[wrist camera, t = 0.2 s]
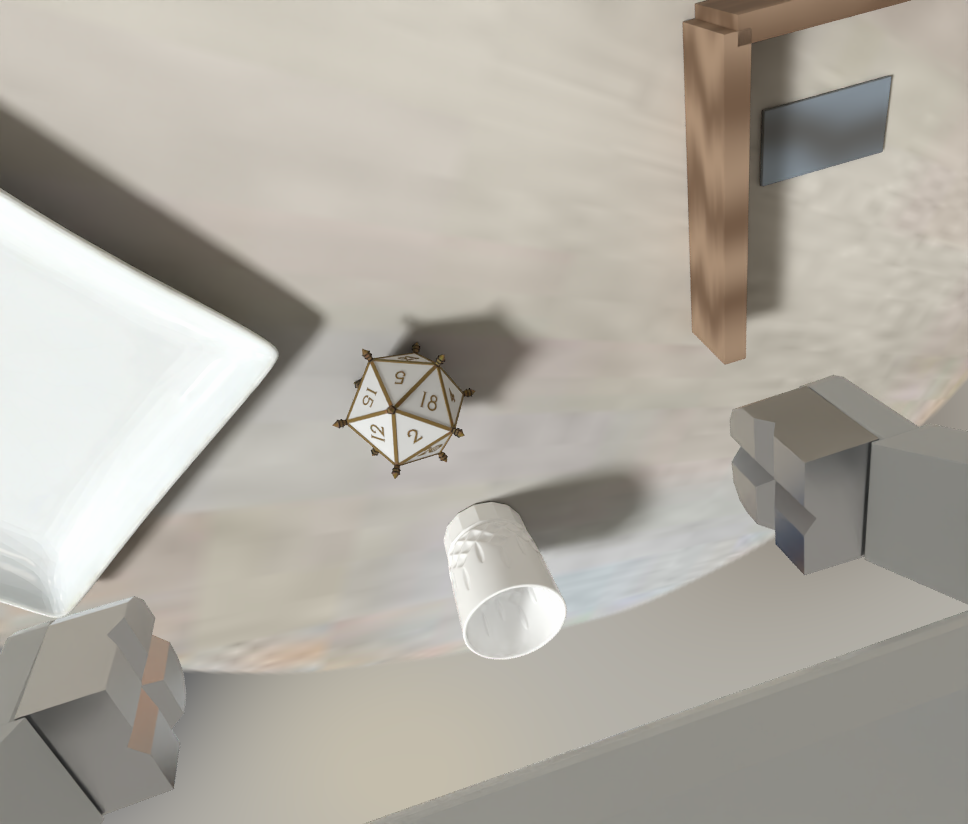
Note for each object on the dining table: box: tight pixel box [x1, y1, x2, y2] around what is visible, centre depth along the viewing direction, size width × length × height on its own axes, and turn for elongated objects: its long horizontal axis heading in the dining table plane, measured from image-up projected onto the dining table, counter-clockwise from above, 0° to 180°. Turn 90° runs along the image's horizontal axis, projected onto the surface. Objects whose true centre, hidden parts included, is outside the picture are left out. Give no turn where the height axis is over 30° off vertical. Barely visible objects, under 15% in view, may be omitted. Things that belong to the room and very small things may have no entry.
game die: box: [332, 342, 475, 479], centre depth 51 cm, size 9×8×10 cm
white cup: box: [444, 502, 567, 659], centre depth 61 cm, size 8×8×10 cm
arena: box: [683, 0, 910, 364], centre depth 51 cm, size 22×22×5 cm
